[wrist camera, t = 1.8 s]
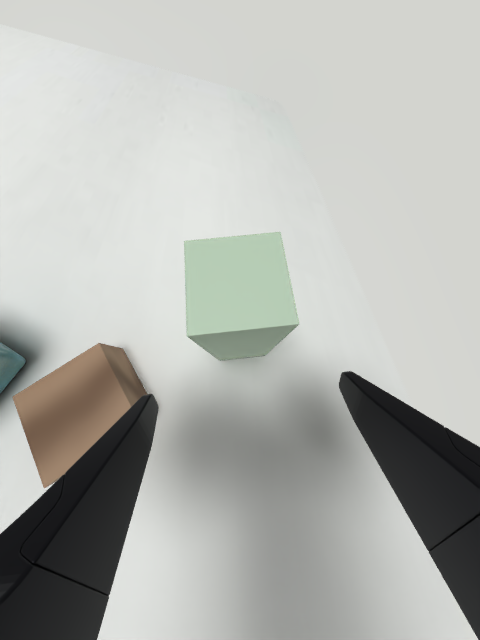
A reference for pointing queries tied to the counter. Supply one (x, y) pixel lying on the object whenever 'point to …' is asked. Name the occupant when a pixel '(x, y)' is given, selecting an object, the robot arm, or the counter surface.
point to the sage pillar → (238, 295)
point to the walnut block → (76, 407)
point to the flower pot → (9, 365)
